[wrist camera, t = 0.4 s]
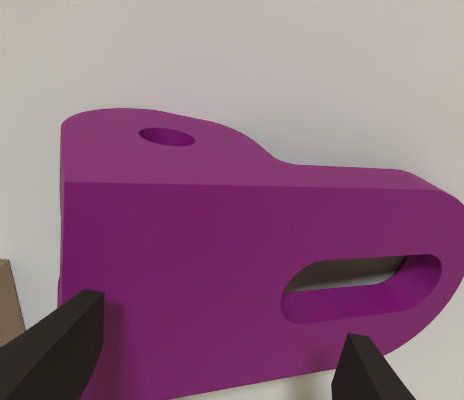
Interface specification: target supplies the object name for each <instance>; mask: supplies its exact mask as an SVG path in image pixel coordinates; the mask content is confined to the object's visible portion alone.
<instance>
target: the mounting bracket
mask: <svg viewBox="0 0 464 400" xmlns="http://www.w3.org/2000/svg"><path fill="white" fill-rule="evenodd" d="M60 209H61V249H60V277H59V281H58V304H57V308H59V307H60V306H61V305H63V304H64V303H65V302H67V301H68V300H69V299H71V298H72V297H73V296H75V295H76V294H78V293H79V292H80V291H82V290H83V289H88V290H94V291H100V292H104V342H103V348H102V351H101V353H100V356H99V359H98V361H97V364H96V366H95V369H94V371H93V374H92V376H91V378H90V380H89V382H88V384H87V386H86V388H85V390H84V392H83V393H82V395H81V397H80V399H79V400H168V399H174V398H179V397H184V396H190V395H195V394H201V393H206V392H212V391H217V390H222V389H228V388H233V387H239V386H244V385H249V384H255V383H260V382H266V381H271V380H277V379H282V378H287V377H293V376H298V375H304V374H309V373H314V372H320V371H325V370H331V369H336V368H337V365H338V362H339V359H340V356H341V353H342V349H343V346H344V343H345V340H346V337H347V334H348V333H352V334H358V335H364V336H369V337H370V339H371V340H372V341H373V343H374V344H375V346H376V347H377V348H378V350H379V351H380V352H381V354H382V355H383V356H384V355H386V354H388V353H390V352H392V351H394V350H395V349H397V348H399V347H400V346H402V345H403V344H405V343H406V342H408V341H409V340H411V339H412V338H413V337H415V336H416V335H417V334H418V333H420V332H421V331H422V330H423V329H424V328H425V327H426V326H427V325H428V324H430V323H431V322H432V321H433V319H434V318H435V317H436V316H437V315H438V314H439V313H440V312H441V311H442V309H443V308H444V307H445V306H446V304H447V303H448V302H449V300H450V299H451V298H452V296H453V295H454V293H455V292H456V290H457V288H458V286H459V285H460V283H461V281H462V279H463V277H464V205H463V204H462V203H461V202H460V201H459V200H458V199H456V198H455V197H453V196H452V195H450V194H448V193H446V192H445V191H443V190H441V189H439V188H437V187H436V186H434V185H432V184H430V183H429V182H427V181H425V180H423V179H422V178H420V177H418V176H416V175H414V174H412V173H409V172H406V171H402V170H395V169H378V168H356V167H334V166H312V165H295V164H290V163H286V162H283V161H280V160H278V159H276V158H274V157H273V156H272V155H270V154H269V153H268V152H267V151H266V150H264V149H263V148H262V147H261V146H260V145H259V144H257V143H256V142H255V141H254V140H252V139H251V138H249V137H248V136H246V135H244V134H242V133H240V132H238V131H236V130H234V129H231V128H229V127H226V126H223V125H221V124H218V123H215V122H211V121H206V120H201V119H196V118H191V117H186V116H181V115H176V114H171V113H167V112H162V111H157V110H147V109H131V108H114V109H99V110H92V111H86V112H82V113H79V114H76V115H73V116H71V117H69V118H68V119H66V120H65V121H64V122H63V123H62V125H61V143H60ZM404 255H408V258H407V260H406V262H405V263H404V265H403V266H402V267H401V269H400V270H399V271H398V272H397V273H396V274H395V275H393V276H392V277H391V278H389V279H388V280H386V281H384V282H381V283H378V284H373V285H362V286H351V287H341V288H330V289H319V290H308V291H297V292H287V293H283V291H284V289H285V287H286V286H287V284H288V283H289V281H290V280H291V279H292V278H293V277H294V276H295V275H296V274H297V273H298V272H299V271H301V270H302V269H304V268H305V267H307V266H309V265H311V264H313V263H316V262H319V261H324V260H338V259H355V258H371V257H388V256H404Z"/></svg>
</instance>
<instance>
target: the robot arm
mask: <svg viewBox="0 0 464 400" xmlns="http://www.w3.org/2000/svg"><path fill="white" fill-rule="evenodd" d="M103 342H104V292H100V291H94V290H88V289H83V290H82V291H80V292H79V293H78V294H76V295H75V296H73V297H72V298H71V299H69V300H68V301H67V302H65V303H64V304H63V305H61V306H60V307H59V308H57V309H56V310H55V311H53V312H52V313H50V314H49V315H48V316H46V317H45V318H43V319H42V320H41V321H39V322H38V323H36V324H35V325H34V326H32V327H31V328H29V329H28V330H26V331H25V332H23V333H22V334H21V335H19V336H17V337H16V338H14V339H13V340H11V341H10V342H8V343H7V344H5V345H3V346H2V347H0V400H79V399H80V397H81V395H82V393H83V392H84V390H85V388H86V386H87V384H88V382H89V380H90V378H91V376H92V374H93V371H94V369H95V366H96V364H97V361H98V359H99V356H100V353H101V351H102V348H103ZM331 387H332V400H416V399H415V398H414V397H413V395H412V394H411V393H410V392H409V390H408V389H407V388H406V386H405V385H404V384H403V382H402V381H401V380H400V378H399V377H398V376H397V374H396V373H395V372H394V370H393V369H392V368H391V366H390V365H389V364H388V362H387V361H386V359H385V358H384V357H383V355H382V354H381V352H380V351H379V350H378V348H377V347H376V346H375V344H374V343H373V341H372V340H371V339H370V337H369V336H364V335H358V334H352V333H348V334H347V337H346V340H345V343H344V346H343V349H342V353H341V356H340V359H339V362H338V365H337V368H336V371H335V374H334V378H333V381H332V384H331Z"/></svg>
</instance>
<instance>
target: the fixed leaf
mask: <svg viewBox="0 0 464 400" xmlns="http://www.w3.org/2000/svg"><path fill="white" fill-rule="evenodd" d="M23 332H25V327H24V323H23V319H22V315H21V311H20V306H19V302H18V298H17V294H16V289H15V285H14V281H13V277H12V272H11V268H10V264H9V260H2V259H0V347H2V346H3V345H5V344H7V343H8V342H10V341H11V340H13V339H14V338H16V337H17V336H19V335H21V334H22V333H23Z"/></svg>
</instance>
